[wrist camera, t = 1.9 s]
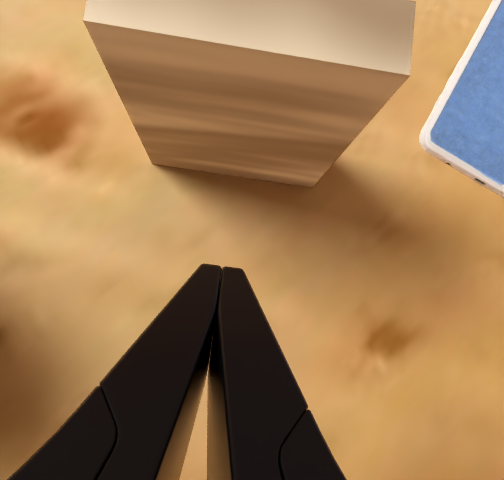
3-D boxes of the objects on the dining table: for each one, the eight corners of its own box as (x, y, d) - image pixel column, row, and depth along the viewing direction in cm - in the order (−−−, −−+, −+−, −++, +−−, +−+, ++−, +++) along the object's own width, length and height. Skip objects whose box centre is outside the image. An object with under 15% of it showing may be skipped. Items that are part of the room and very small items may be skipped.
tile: (312, 187, 23) (410, 75, 12) (152, 163, 23) (82, 20, 11) (316, 145, 24) (416, -5, 12) (159, 121, 23) (99, -62, 11)
